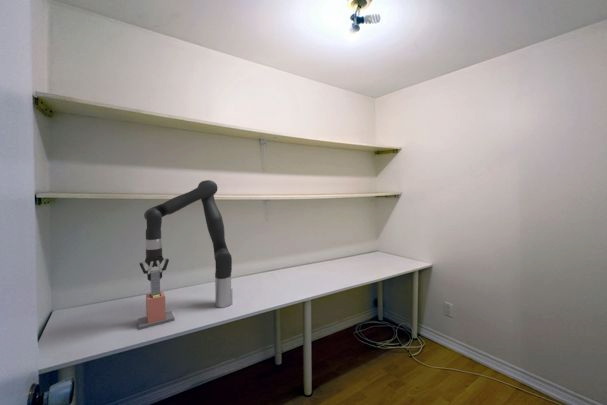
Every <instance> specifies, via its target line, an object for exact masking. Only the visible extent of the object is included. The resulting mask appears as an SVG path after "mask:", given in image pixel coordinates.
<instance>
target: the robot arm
mask: <svg viewBox="0 0 607 405" xmlns="http://www.w3.org/2000/svg"><path fill="white" fill-rule="evenodd" d="M218 188H219V187H218V184H217V183H216V182H215V181H214V180H211V179H207V180H202V181H200V182H199V183H198V185H197V187H195V188H194V189H191V190H190V191H188V192H185V193H183V194H180V195H177V196H175V197H173V198H171V199H168V200H167V201H164V202H163V203H160V204H157V205H155V206H153V207H150V208H148V209H146V210H145V212H144V216H143V217H144V219H145V221H146V229H145V244H144V245H145V247H144V248H145V260H144V261H140V262H139V263H138V264H139V266H140V269H141V270H142V272H143V274H147V280H148V281H149V282H150V281H151V274H150V272H151V271H152V269H153V268H154V267H155V268H158V269H157V270H159V272H160V280H162V279H163V272H164V271H166V270H167V267H168V265H169V261H170V259H169V258H168V257H166V258H164V257H163V241H162V221H163V218H164V217H166V216H168V215H172V214H174V213H176V212H179V211H180V210H182V209H184V208H186V207H187V206H189V205H191V204H194V203H195V202H197V201H200V200H201V203H202V207H203V212H204V217H205V221H206V222H205V223H206V227H207V231H208V234H209V238H210V239H211V242H212V248H213V256H214V261H215V263H214V264H215V270H214V271H215V272H214V282H215V283H214V285H215V286H214V287H215V288H214V292H215V293H214V294H215V295H214V296H215V297H214V298H215V300H214V301H215V307H217V308H227V307H230V306H231V305H233V301H234V299H233V288H232V271H233V270H232V269H233V262H232V261H233V259H232V257H233V256H232V254H231V253H230V251H229V248H228V246H227V243H226V236H225V225H224V220H223V217H222V214H221V211H220V209H219V207H218V206H217V204H216V201H215V194H217V192H218ZM162 263H163V266H162V265H161V264H162ZM145 265H147V270H146V269H145Z"/></svg>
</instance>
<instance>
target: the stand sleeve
mask: <svg viewBox="0 0 607 405" xmlns="http://www.w3.org/2000/svg"><path fill="white" fill-rule="evenodd" d="M145 308H146V309H145V310H146V315H145V316H143V317H138V318H137V324H138V330H140V331H141V330H144V329H149V328H153V327H155V326H159V325H162V324H167V323H171V322H174V321H175V316H174V314H173V311H172V310H168V311H166V310H167V309H166V295H165V292H164V291H163V290H160V295H154V296H153V298H151V294H150V293H146V294H145Z"/></svg>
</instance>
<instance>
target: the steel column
mask: <svg viewBox="0 0 607 405" xmlns="http://www.w3.org/2000/svg"><path fill="white" fill-rule="evenodd" d="M150 274H151V281H149V282H150V283H149V284H150V285H149V286H150V292H149V294H151V298H153V296H154V295H160V291H161V279H160V272H159V269H156V270H151V272H150Z"/></svg>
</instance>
